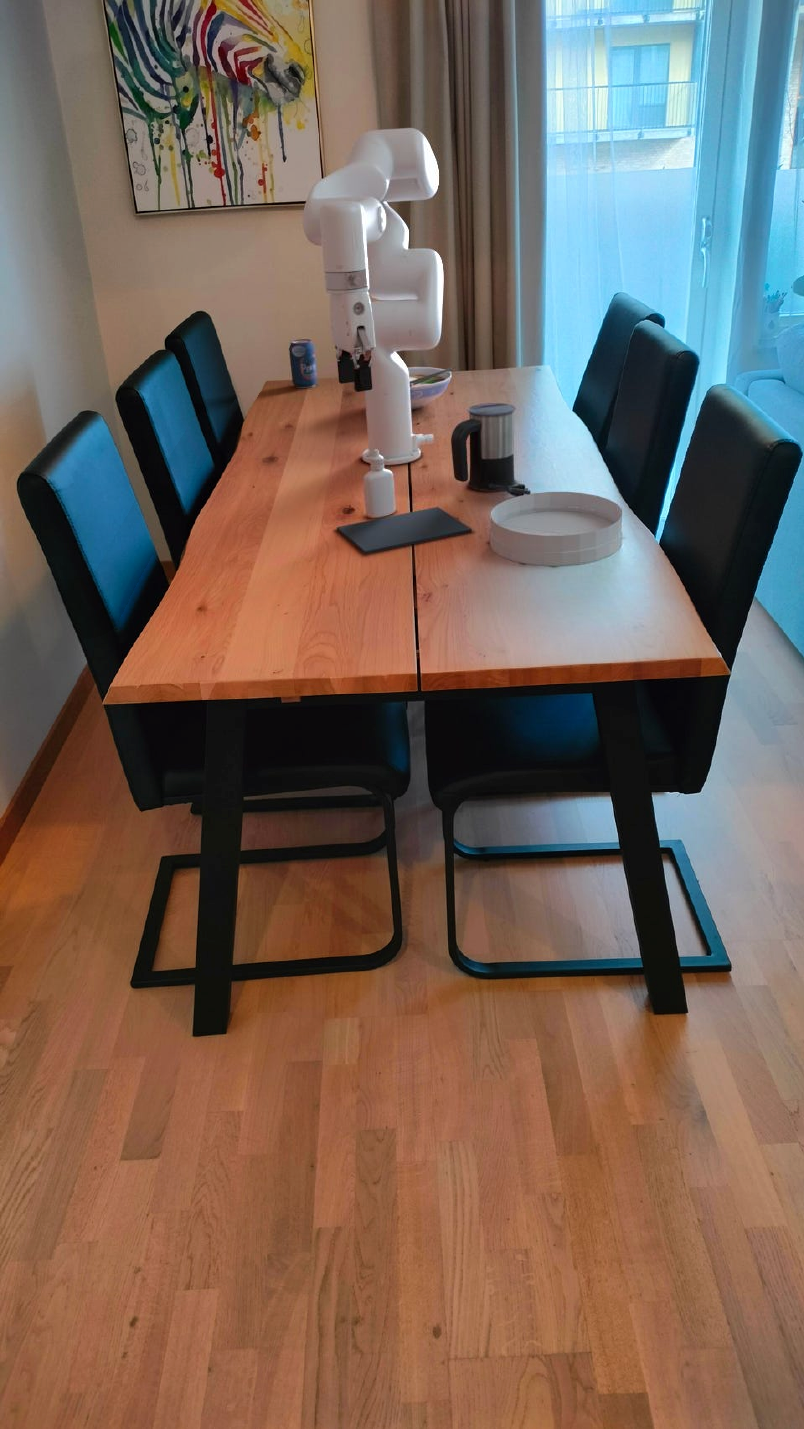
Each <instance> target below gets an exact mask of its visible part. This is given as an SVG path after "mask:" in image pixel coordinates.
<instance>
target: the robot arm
mask: <svg viewBox="0 0 804 1429" xmlns="http://www.w3.org/2000/svg"><path fill="white" fill-rule="evenodd" d="M439 178H440V176H439V167H438V162H437V159H436V157H435V155H434V152H433V149H432V148H431V145H430V143H429V141H428V139H427V137H426V136H425V135H424V133H423V132H421V130H419V129H417V128H415V127H404V128H403V127H402V128H401V127H400V128H386V129H385V128H384V129H374V130H369V131H366V132H363V133H362V134H360V135H359V136H358V137H357V139H356V140H355V142H354V143H353V146H352V149H351V151H350V154H349V157H348V160H347V162H346V164H345V166H343V167H341V168H339V169H337V170H335V171H333V172H332V173H330V174H328V175H326V176H325V177H323V178H321V179H320V180H318V181H317V182H316V183H315V184H314V185H313V186H312V187H311V188H310V191H309V194H308V196H307V199H306V201H305V204H304V208H303V213H302V228H303V232H304V235H305V238H306V239H307V240H308V242H310V243H311V244H313V245H314V246H318V247H322V248H321V249H322V259H323V270H324V283H325V293H328V294H329V312H330V314H329V315H330V328H331V337H332V342H333V345H334V348H335V350H336V351H335V352H336V353H335V357H336V360H337V361H336V364H337V375H338V382H339V384H341V385H343V384H349V383H353V385H354V387H353V388H354V392H357V393H361V392H364V400H365V401H364V404H365V416H366V427H367V429H366V430H367V442H368V448H367V449H365V450H363V452H362V453H361V457H362V458H361V459H362V460H363V461H364V462H365V463H367V464H370V465H371V462H370V458H371V457H373V456H374V450H378V451H379V454H380V456H383V457H384V466H394V465H403V464H408V463H411V462H414V461H416V460H417V459H419V458H420V457H421V449H420V447H421V446H422V445H429V444H430V445H431V444H433V443H434V442H435V437H434V435H433V433H430V434H423V433H418V434H416V433H414V432H413V423H412V410H411V402H410V384H409V373H408V369H407V368H408V367H407V365H406V363H405V362H404V360H402V358H401V357H400V355H399V354H398V353H397V352H401V351H403V352H404V351H428V350H432V349H434V348H436V347H437V346H438V344H439V343H440V341H441V335H442V327H443V326H442V325H443V324H442V323H443V302H444V301H443V299H444V298H443V297H444V269H443V268H444V267H443V262H442V258H441V257H440V255H439V253H438V252H437V251H435V249H432V248H427V247H426V248H409V235H410V232H409V228H408V226H407V224H406V223H405V221H404V220H403V219H402V217H401V216H400V215H399V213H398V212H397V211H396V210H394V209H393V208H392V207H391V206H390V205H389V204H388V202H389V203H391V202H409V201H413V202H414V201H425V200H429V199H431V198H433V197H434V195H436V193H437V191H438V186H439V180H440V179H439ZM370 297H371V298H373V299H375V300H376V301H371V298H370Z"/></svg>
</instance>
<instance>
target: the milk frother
mask: <svg viewBox="0 0 804 1429" xmlns="http://www.w3.org/2000/svg"><path fill="white" fill-rule="evenodd" d="M515 411H516V406H514V405H512V404H509V403H502V402H487V403H480V404H475V405H472V406H469V407H468V408H467V412H468V413H469V416H468V417H469V418H468V419H466V420H463V421H460V422H459V423H458V424H457V425H456V426H455V427H454V429H453V431H452V432H451V437H450V446H451V458H452V468H453V469H452V470H453V477H454V479H455V480H456V481H459V482H462V483H463V482H468V486H469V487H470V488H472V489H475V490H478V491H484V492H487V491H488V492H493V491H501V492H506V493H508V494H510V495H512V496H513V497H518V496H522V495H528V494H531V490H530V489H529V487H526V484H524V483H518V484H516V483H517V481H516V479H515V454H514V453H515V423H514V422H515ZM468 438H469V462H468V448H467V441H468Z"/></svg>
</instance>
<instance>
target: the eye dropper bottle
mask: <svg viewBox="0 0 804 1429" xmlns="http://www.w3.org/2000/svg"><path fill="white" fill-rule="evenodd" d="M370 462H371V464H370V470H369V471H368V472H366V474H364V475H363V493H364V494H363V496H364V507H365V515H366V517H368V518H371V519H380V518H385V517H389V516H391V515H392V514H394V513H395V512H396V498H395V497H396V496H395V494H396V493H395V480H394V473H393V472H392V470H390V469H387V468H385V465H384V457H383V456H380V454H379V451H378V450H374V456H373V457H371V458H370Z"/></svg>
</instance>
